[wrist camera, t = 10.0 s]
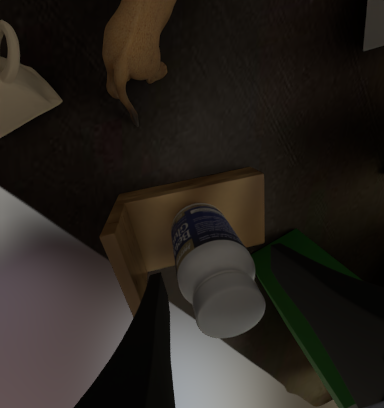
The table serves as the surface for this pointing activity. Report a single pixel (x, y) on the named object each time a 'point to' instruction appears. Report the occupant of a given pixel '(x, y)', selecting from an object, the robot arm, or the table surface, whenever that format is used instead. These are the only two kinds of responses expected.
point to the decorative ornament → (21, 87)
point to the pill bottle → (215, 272)
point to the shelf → (163, 217)
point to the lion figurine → (134, 46)
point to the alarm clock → (374, 25)
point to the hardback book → (295, 317)
